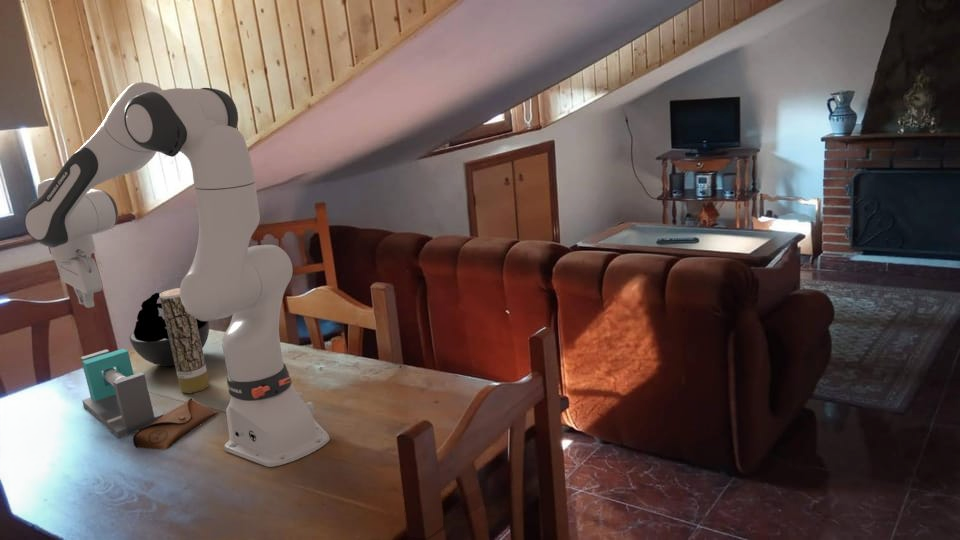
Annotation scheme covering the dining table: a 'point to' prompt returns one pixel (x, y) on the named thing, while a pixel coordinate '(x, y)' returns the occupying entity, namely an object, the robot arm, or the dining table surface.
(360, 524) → the dining table surface
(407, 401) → the dining table surface
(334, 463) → the dining table surface
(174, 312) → the log-textured cylinder
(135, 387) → the pipe stand
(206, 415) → the sunglasses case
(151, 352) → the bowl of black rocks
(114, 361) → the teal upright slab
